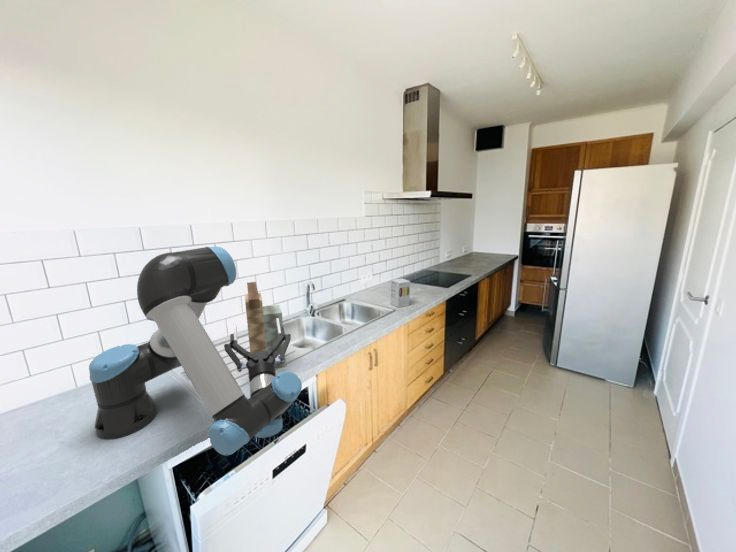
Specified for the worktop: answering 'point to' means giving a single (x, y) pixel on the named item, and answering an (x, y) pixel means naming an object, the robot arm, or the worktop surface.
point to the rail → (253, 295)
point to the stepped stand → (264, 328)
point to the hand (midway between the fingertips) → (256, 323)
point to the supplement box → (400, 292)
